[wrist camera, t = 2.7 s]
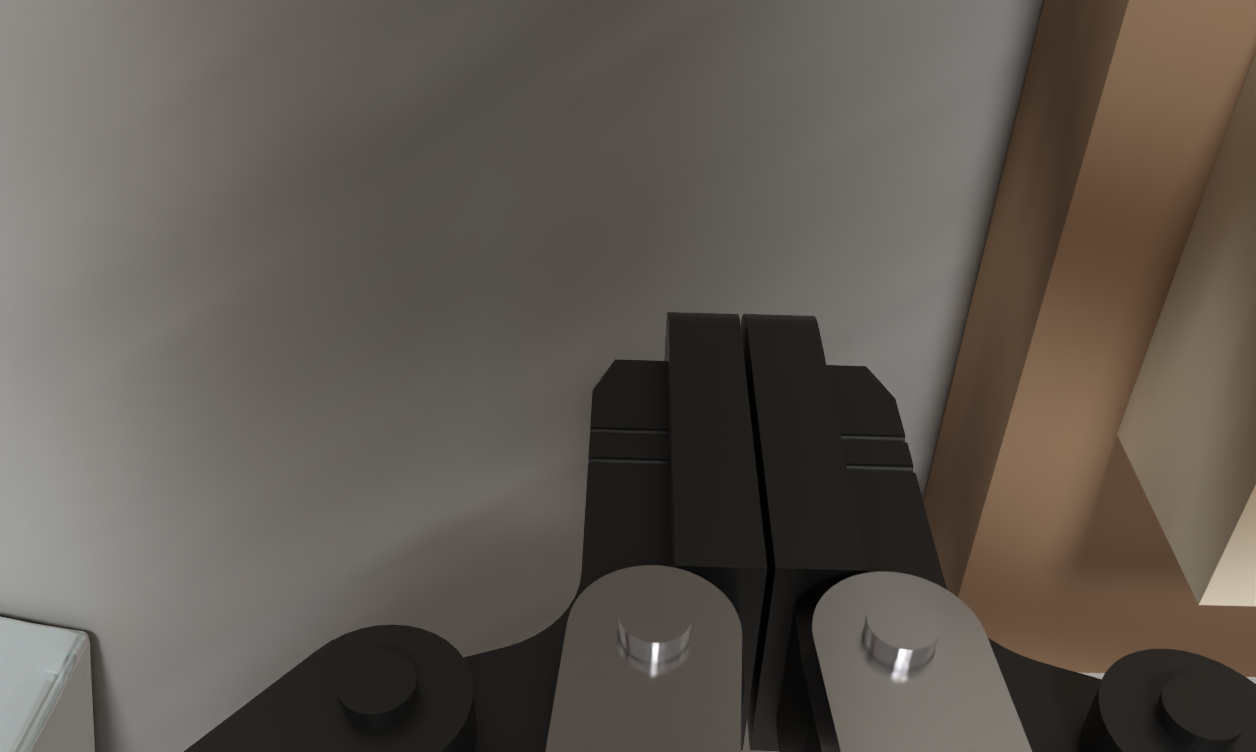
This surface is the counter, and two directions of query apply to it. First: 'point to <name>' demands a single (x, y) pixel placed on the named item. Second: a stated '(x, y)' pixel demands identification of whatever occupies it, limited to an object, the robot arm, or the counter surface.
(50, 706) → the skincare box
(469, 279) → the counter surface
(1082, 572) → the brown flat block
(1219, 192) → the beige block
